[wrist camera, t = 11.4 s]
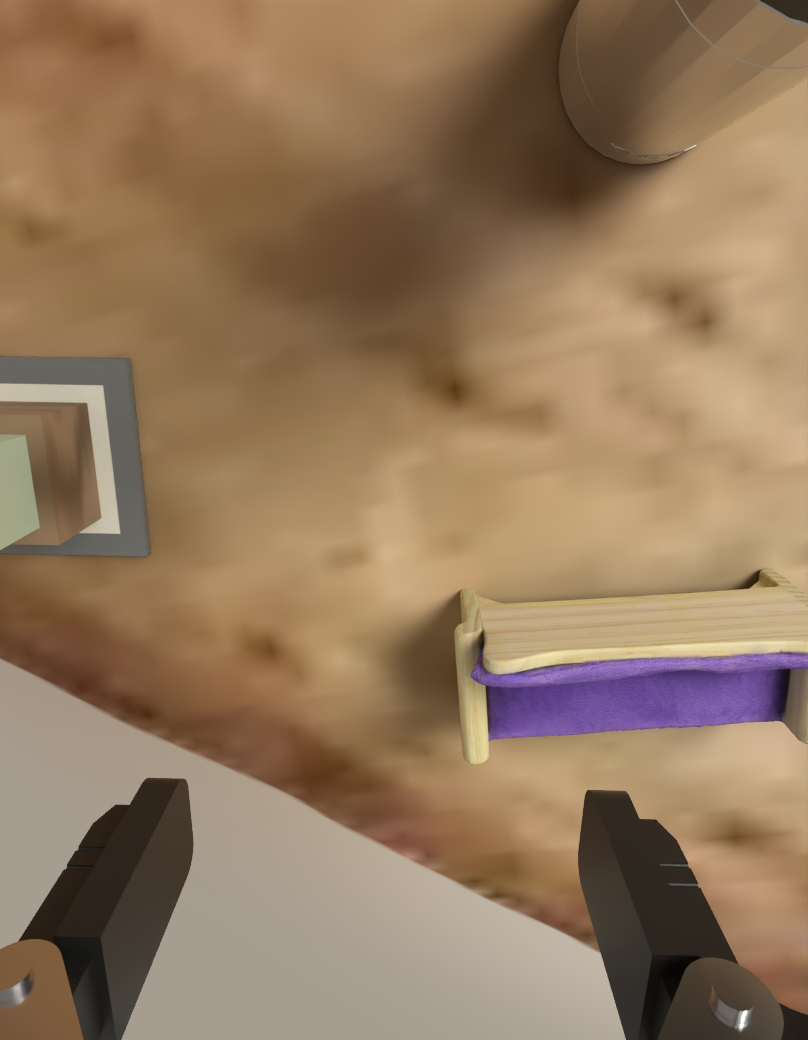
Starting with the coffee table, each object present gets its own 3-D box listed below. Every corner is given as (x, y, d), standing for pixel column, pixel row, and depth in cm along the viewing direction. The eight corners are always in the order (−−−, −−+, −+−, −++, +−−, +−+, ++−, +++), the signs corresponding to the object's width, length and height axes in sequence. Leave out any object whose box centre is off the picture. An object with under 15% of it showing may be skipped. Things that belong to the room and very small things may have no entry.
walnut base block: (-33, 400, 38) (-97, 412, 34) (87, 402, 38) (40, 415, 33) (-12, 515, 40) (-70, 542, 36) (101, 518, 40) (59, 545, 36)
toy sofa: (456, 703, 45) (467, 811, 35) (448, 585, 42) (458, 666, 33) (769, 684, 44) (870, 789, 34) (781, 563, 41) (894, 639, 32)
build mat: (-76, 354, 38) (-84, 355, 38) (130, 358, 38) (125, 359, 37) (-38, 549, 42) (-45, 553, 41) (150, 553, 42) (146, 557, 41)
